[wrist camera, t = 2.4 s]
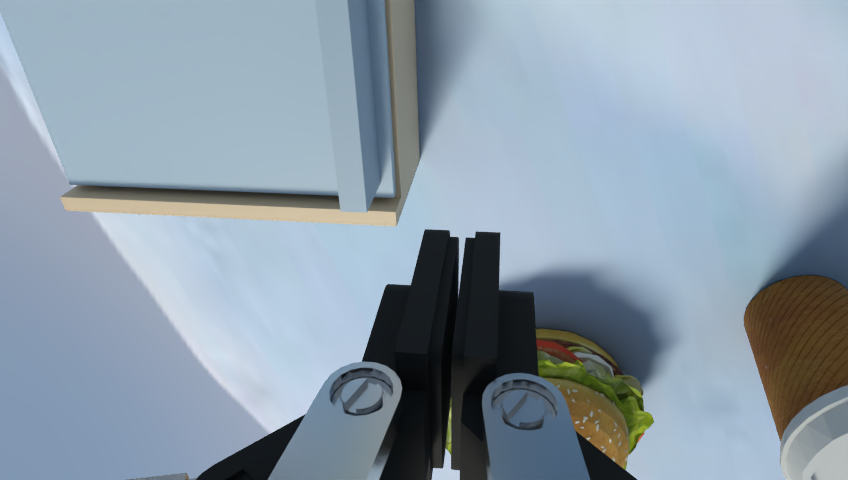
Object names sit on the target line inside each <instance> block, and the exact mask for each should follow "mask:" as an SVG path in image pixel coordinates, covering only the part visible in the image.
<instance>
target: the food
mask: <svg viewBox="0 0 848 480" xmlns="http://www.w3.org/2000/svg"><path fill="white" fill-rule="evenodd" d="M536 342H537V357H538V373H539V377H542V378H543V379H545V380H547V381H549V382H550V383H552V384H553V385H554V386H555V387H556V388H557V389H558V390H559V391H560V392H561V393H562V395H563V397H564V399H565V401H566V403H567V406H568V409H569V413H570V416H571V419H572V422H573V425H574V429H575V431H577V432H578V433H579V434H580V435H582V436H583V437H584V438H585V439H587V440H588V441H589V442H591V443H592V444H593V445H594V446H596V447H597V448H598V449H599V450H601V451H602V452H603V453H604V454H606V455H607V456H608V457H609V458H611V459H612V460H613V461H614V462H616V463H617V464H618V465H619V466H621V467H622V468H623V469H624V470H625V469H626V465H627V457H628V454H630V453H631V452H632V451H633V450H634V449H635V447H636V444H637V443H638V442H639V440H640V439H641V437H642V436H643V434H644V431H645V430H646V429H647V428H649V427H650V426H651V425H652V424H653V423H654V420H653V417H652V415H651V414H650V413H648V412H644V407H643V398H642V395H643V390H642V387H641V385H640V382H639V380H637V379H636V378H634V377H633V376H631V375H624V374H623V373H622V371H621V370H620V368H619V367H618V365H617V364H616V362H615V361H614V359H613V358H612V357H611V356H610V355H609V354H608V353H606V352H605V351H604V350H603V349H602V348H600V347H599V346H598V345H597V344H595V343H594V342H593V341H590V340H588V339H586V338H584V337H581V336H579V335H577V334H574V333H572V332H568V331H559V330H551V329H543V328H541V329H536ZM445 448H446V449H447V450H448V451H449V452H450V454H451V403H450V412H449V421H448V430H447V438H446V447H445Z"/></svg>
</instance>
